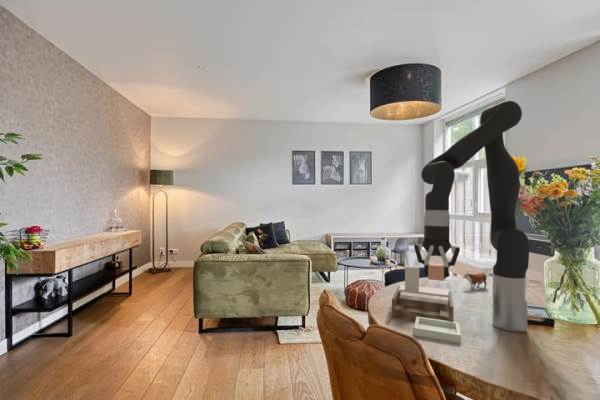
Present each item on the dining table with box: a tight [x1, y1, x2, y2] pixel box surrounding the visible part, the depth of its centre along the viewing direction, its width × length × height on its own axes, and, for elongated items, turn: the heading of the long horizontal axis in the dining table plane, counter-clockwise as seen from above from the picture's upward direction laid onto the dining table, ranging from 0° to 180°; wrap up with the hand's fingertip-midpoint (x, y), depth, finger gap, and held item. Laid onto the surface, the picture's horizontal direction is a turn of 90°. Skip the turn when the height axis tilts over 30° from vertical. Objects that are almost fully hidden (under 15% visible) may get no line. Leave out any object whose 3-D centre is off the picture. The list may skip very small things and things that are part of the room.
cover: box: [399, 265, 449, 298], centre depth 124 cm, size 18×8×10 cm, turn 67°
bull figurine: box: [462, 271, 488, 291], centre depth 156 cm, size 4×13×8 cm, turn 107°
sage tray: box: [413, 316, 462, 344], centre depth 102 cm, size 13×11×2 cm
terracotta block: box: [427, 262, 445, 282], centre depth 103 cm, size 4×4×4 cm
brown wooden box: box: [391, 285, 454, 322], centre depth 120 cm, size 20×20×6 cm
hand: (436, 277), depth 103 cm, fingers closed on terracotta block, 4 cm apart
